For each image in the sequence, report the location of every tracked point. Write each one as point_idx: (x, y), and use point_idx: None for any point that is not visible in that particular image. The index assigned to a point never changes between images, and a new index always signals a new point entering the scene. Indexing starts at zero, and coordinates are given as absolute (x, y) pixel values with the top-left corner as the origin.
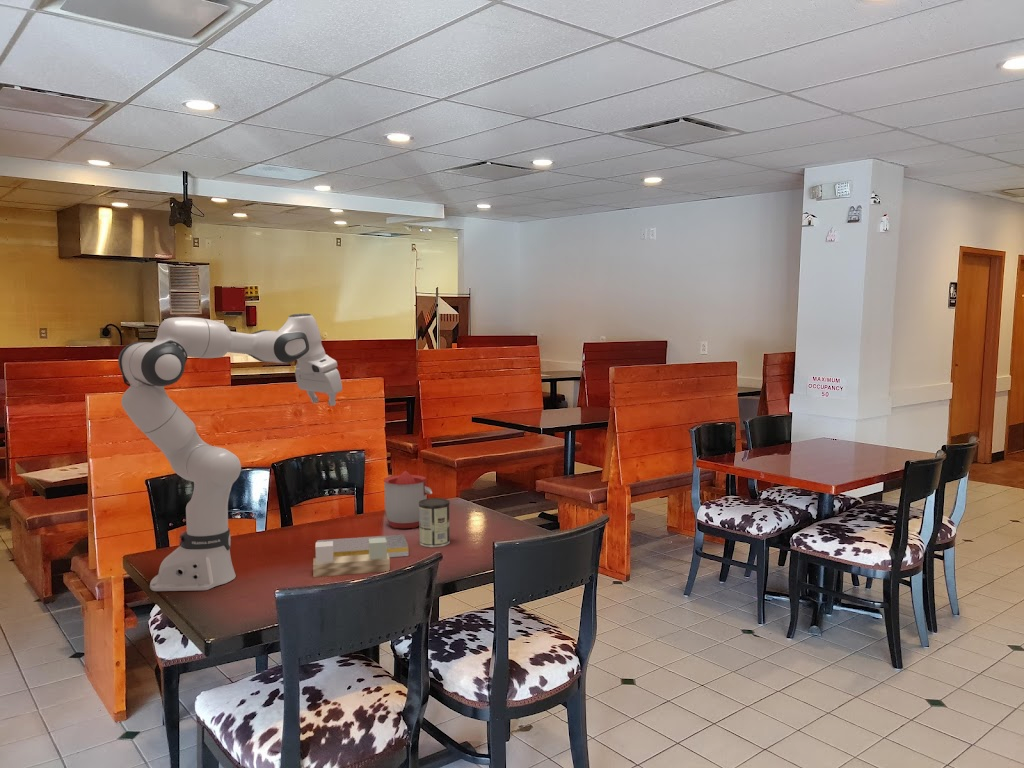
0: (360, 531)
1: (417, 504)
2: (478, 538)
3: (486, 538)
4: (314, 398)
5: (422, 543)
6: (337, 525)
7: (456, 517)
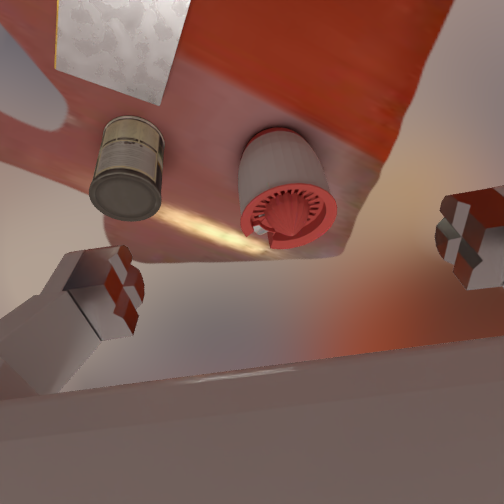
0: (301, 61)
1: (238, 190)
2: None
3: None
4: (477, 241)
5: (124, 118)
6: (385, 38)
7: None
